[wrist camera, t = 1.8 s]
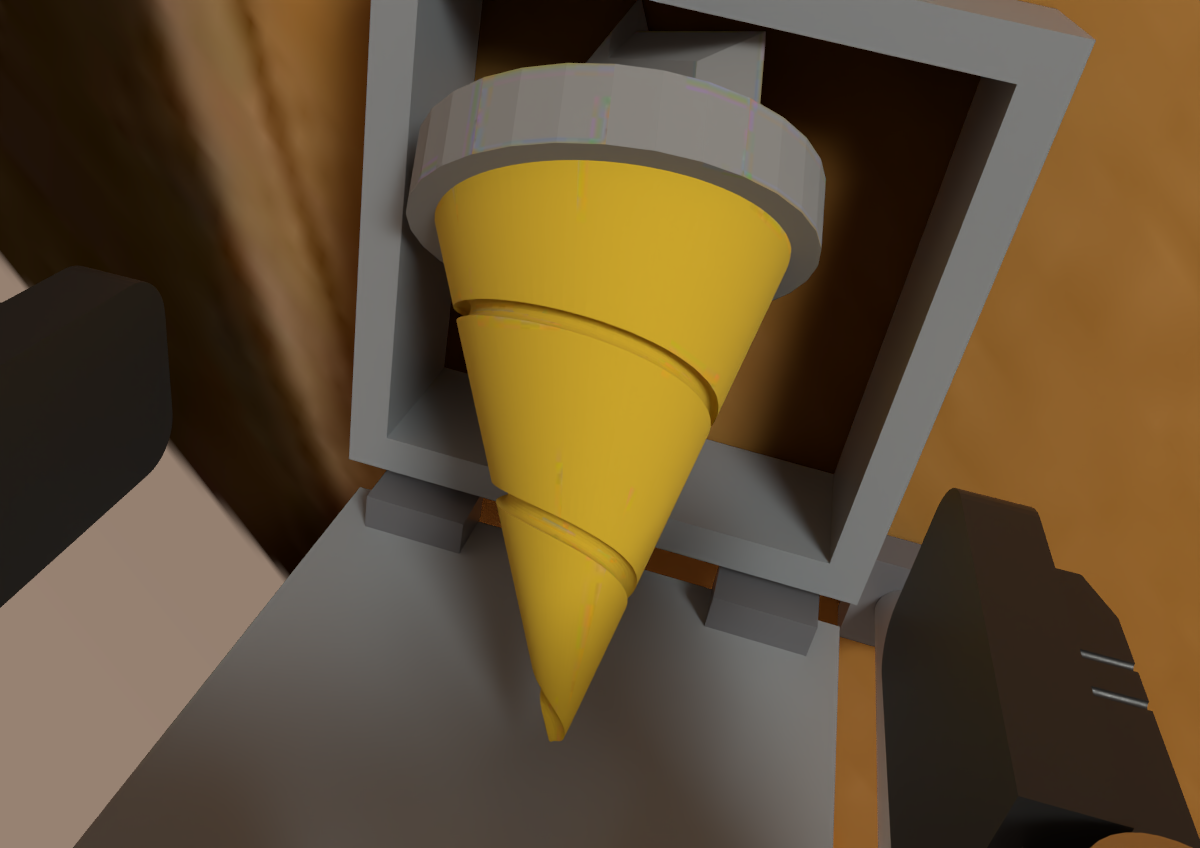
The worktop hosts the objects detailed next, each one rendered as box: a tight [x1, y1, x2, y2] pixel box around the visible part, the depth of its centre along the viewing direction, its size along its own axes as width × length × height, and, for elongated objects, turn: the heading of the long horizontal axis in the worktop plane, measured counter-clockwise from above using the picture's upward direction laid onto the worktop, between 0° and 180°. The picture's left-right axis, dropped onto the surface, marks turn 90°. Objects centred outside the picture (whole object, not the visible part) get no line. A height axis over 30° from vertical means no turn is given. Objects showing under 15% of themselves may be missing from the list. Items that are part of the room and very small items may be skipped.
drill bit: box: [406, 0, 826, 742], centre depth 13 cm, size 5×5×10 cm
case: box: [73, 0, 1096, 848], centre depth 11 cm, size 10×10×12 cm
